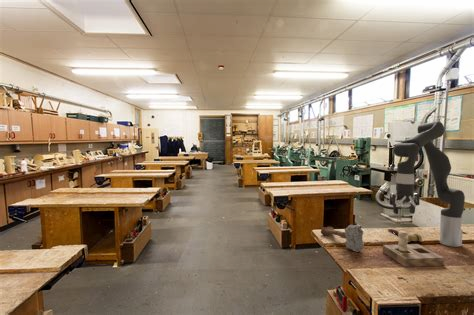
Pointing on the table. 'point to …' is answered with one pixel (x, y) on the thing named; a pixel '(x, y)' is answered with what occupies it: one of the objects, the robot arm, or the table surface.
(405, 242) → the birch peg
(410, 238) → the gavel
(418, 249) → the walnut board
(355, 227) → the hammer
